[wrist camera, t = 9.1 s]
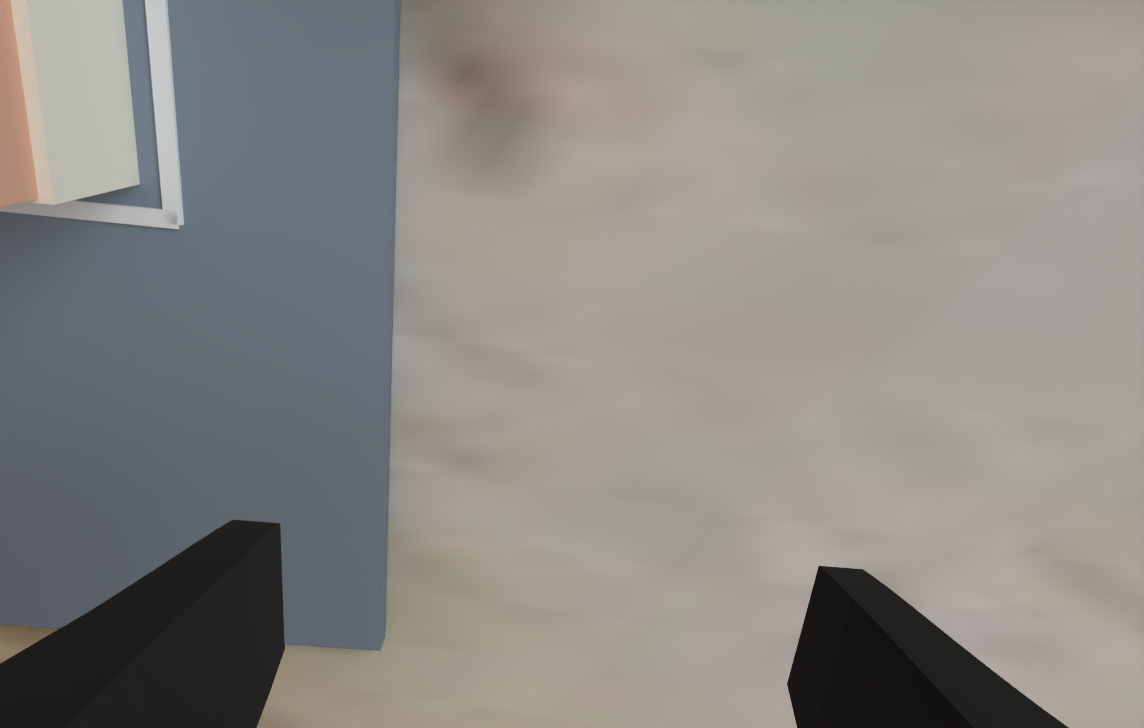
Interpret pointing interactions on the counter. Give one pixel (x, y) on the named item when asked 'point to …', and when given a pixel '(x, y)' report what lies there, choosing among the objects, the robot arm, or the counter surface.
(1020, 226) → the counter surface
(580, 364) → the counter surface
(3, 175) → the terracotta block
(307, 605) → the board
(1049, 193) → the counter surface
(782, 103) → the counter surface
